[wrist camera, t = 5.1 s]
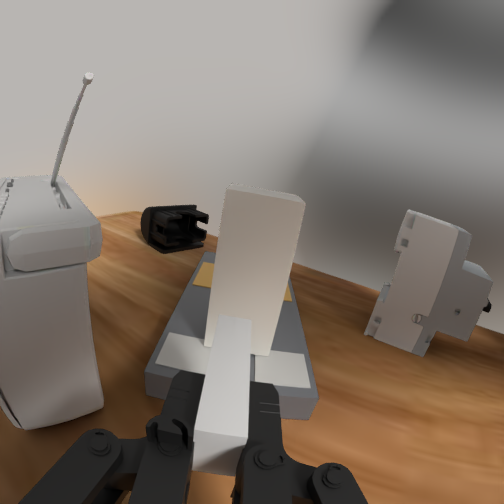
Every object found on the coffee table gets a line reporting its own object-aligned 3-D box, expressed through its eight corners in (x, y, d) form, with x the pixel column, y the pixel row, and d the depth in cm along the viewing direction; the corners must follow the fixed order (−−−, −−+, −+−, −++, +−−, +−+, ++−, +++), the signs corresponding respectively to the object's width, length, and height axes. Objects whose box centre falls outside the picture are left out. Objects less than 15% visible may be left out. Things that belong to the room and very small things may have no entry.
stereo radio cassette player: (4, 292, 24) (1, 111, 17) (63, 284, 29) (70, 110, 23) (17, 444, 10) (-48, 64, 4) (124, 419, 16) (131, 68, 9)
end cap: (182, 235, 56) (186, 201, 54) (206, 247, 52) (211, 210, 50) (138, 241, 48) (141, 203, 46) (160, 255, 44) (164, 213, 42)
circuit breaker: (463, 371, 25) (516, 253, 21) (363, 334, 32) (404, 211, 27) (459, 343, 31) (499, 243, 27) (373, 311, 38) (406, 208, 33)
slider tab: (267, 328, 25) (297, 195, 22) (268, 356, 21) (305, 203, 18) (211, 319, 25) (231, 183, 21) (203, 345, 21) (226, 188, 18)
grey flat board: (283, 280, 43) (286, 264, 43) (308, 419, 19) (319, 397, 18) (203, 266, 43) (205, 250, 42) (145, 395, 18) (144, 370, 17)
